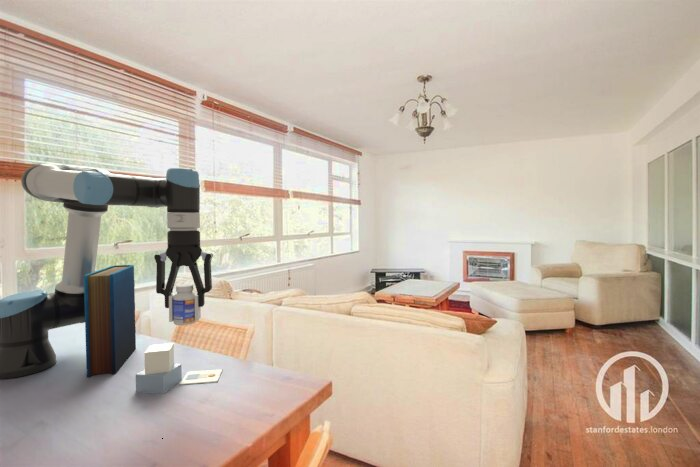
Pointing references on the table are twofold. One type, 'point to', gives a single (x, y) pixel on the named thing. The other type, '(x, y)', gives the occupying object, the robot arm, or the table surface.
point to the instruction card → (201, 377)
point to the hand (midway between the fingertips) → (185, 319)
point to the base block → (158, 380)
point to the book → (109, 318)
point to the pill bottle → (184, 305)
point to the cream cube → (159, 358)
